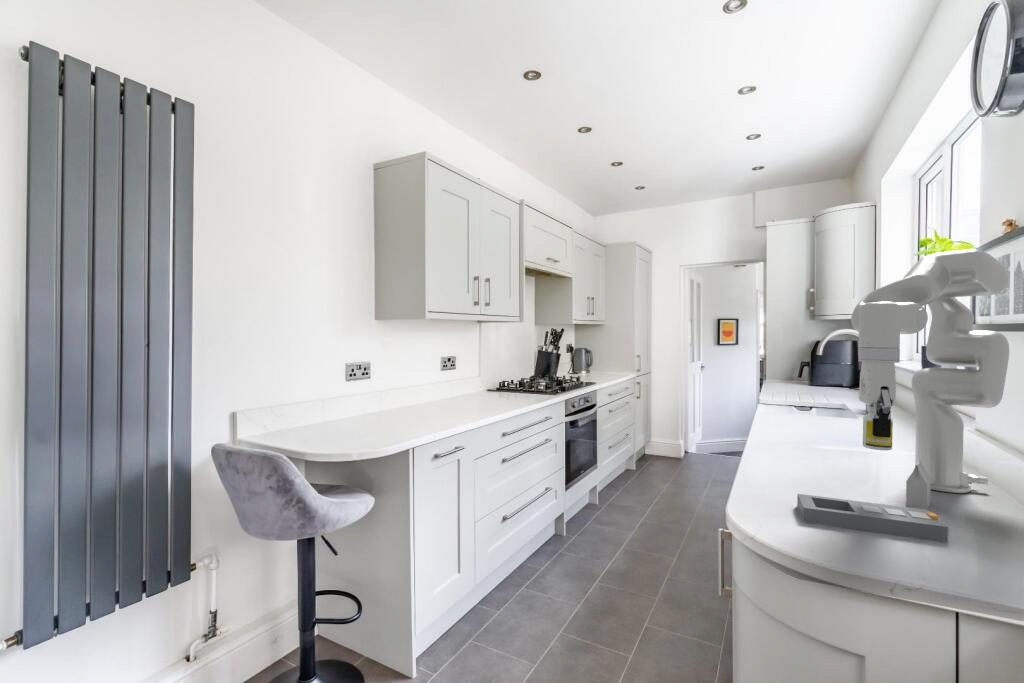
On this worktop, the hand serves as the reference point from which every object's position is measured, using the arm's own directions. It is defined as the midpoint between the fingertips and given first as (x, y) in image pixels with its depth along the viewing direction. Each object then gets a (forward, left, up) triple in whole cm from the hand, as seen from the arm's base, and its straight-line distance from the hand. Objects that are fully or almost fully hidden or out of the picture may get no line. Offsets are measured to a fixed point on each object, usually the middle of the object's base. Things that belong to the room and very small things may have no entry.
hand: (877, 433), depth 109 cm
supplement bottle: (0, 0, -4) cm, 4 cm away
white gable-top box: (-10, -8, -18) cm, 22 cm away
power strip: (+4, +11, -18) cm, 21 cm away
